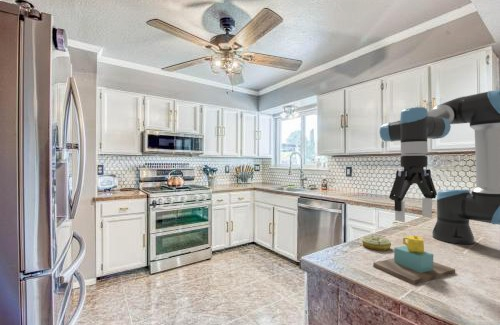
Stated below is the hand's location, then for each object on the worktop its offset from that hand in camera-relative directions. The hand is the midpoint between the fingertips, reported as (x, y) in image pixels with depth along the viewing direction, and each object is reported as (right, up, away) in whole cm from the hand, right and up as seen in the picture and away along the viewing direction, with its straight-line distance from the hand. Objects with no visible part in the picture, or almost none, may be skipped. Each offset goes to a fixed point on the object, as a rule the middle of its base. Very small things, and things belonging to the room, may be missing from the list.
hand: (413, 219), depth 84 cm
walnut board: (0, -17, 0) cm, 17 cm away
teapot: (-1, -11, 0) cm, 11 cm away
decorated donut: (-1, -17, +22) cm, 28 cm away
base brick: (0, -15, 0) cm, 16 cm away
